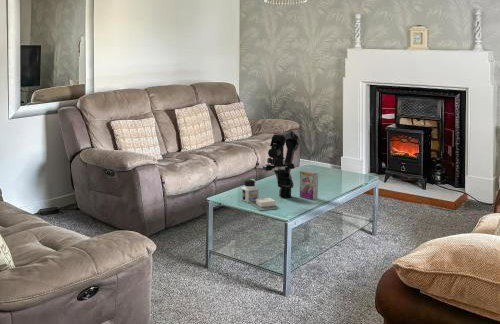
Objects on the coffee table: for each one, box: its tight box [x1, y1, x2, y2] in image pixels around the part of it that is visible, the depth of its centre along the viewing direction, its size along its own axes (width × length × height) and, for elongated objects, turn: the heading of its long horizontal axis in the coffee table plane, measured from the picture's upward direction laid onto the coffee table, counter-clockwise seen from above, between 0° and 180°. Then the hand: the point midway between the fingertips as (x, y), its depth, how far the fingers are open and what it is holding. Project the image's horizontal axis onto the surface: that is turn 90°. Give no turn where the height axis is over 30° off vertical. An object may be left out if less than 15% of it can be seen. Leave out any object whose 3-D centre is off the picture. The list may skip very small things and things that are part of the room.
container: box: [240, 178, 259, 203], centre depth 360 cm, size 8×8×13 cm
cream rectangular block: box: [255, 197, 276, 207], centre depth 349 cm, size 3×8×9 cm
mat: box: [248, 201, 278, 212], centre depth 348 cm, size 10×18×1 cm, turn 21°
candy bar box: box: [299, 170, 319, 201], centre depth 365 cm, size 11×5×16 cm, turn 43°
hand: (278, 180), depth 356 cm, fingers closed
